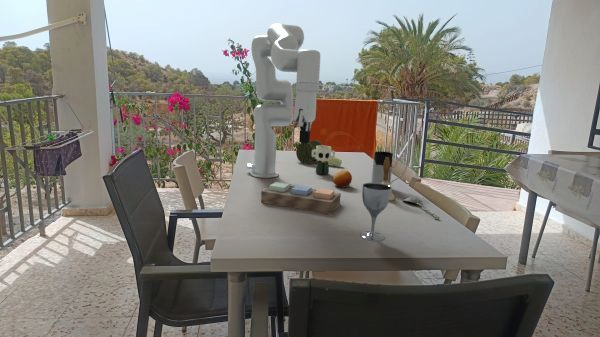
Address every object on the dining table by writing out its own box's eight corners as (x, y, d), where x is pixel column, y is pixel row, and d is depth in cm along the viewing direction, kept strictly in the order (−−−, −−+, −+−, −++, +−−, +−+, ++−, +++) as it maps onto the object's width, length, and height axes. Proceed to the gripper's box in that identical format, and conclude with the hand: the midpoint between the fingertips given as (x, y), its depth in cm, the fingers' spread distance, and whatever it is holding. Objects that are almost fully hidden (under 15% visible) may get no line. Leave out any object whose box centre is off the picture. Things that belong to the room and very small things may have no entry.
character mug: (311, 175, 185) (312, 147, 182) (309, 171, 192) (311, 144, 189) (334, 175, 186) (336, 148, 183) (332, 172, 193) (334, 145, 190)
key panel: (261, 202, 141) (261, 191, 140) (274, 193, 152) (275, 183, 151) (330, 213, 133) (331, 202, 132) (339, 204, 144) (340, 193, 143)
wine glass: (355, 230, 119) (359, 182, 116) (381, 231, 120) (386, 182, 116) (361, 241, 111) (366, 189, 108) (389, 241, 112) (395, 190, 109)
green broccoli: (345, 165, 210) (346, 144, 208) (335, 169, 200) (336, 147, 198) (304, 158, 223) (305, 138, 220) (293, 161, 213) (294, 140, 210)
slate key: (291, 196, 140) (291, 188, 140) (296, 193, 145) (297, 185, 145) (306, 199, 138) (306, 191, 138) (311, 195, 143) (311, 187, 143)
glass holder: (371, 184, 174) (374, 150, 171) (404, 188, 170) (408, 154, 167) (368, 188, 166) (371, 153, 163) (402, 193, 162) (407, 157, 159)
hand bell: (382, 201, 150) (386, 160, 146) (368, 195, 157) (372, 155, 153) (399, 199, 153) (403, 159, 150) (385, 193, 160) (389, 154, 157)
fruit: (355, 186, 163) (346, 169, 163) (338, 194, 165) (329, 177, 165) (356, 181, 171) (348, 165, 170) (340, 189, 173) (331, 173, 172)
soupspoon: (415, 202, 154) (399, 203, 153) (416, 194, 154) (400, 195, 153) (446, 220, 133) (427, 221, 132) (446, 210, 133) (428, 211, 131)
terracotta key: (313, 200, 137) (314, 192, 137) (318, 196, 143) (319, 188, 142) (329, 203, 136) (329, 194, 135) (333, 198, 141) (334, 190, 140)
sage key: (269, 193, 143) (269, 185, 142) (275, 189, 148) (275, 181, 147) (283, 195, 141) (284, 187, 140) (289, 191, 146) (289, 184, 146)
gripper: (304, 87, 142) (301, 138, 146) (288, 87, 128) (286, 144, 132) (324, 88, 139) (321, 140, 143) (310, 88, 125) (307, 146, 129)
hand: (304, 142), depth 137 cm, fingers closed
